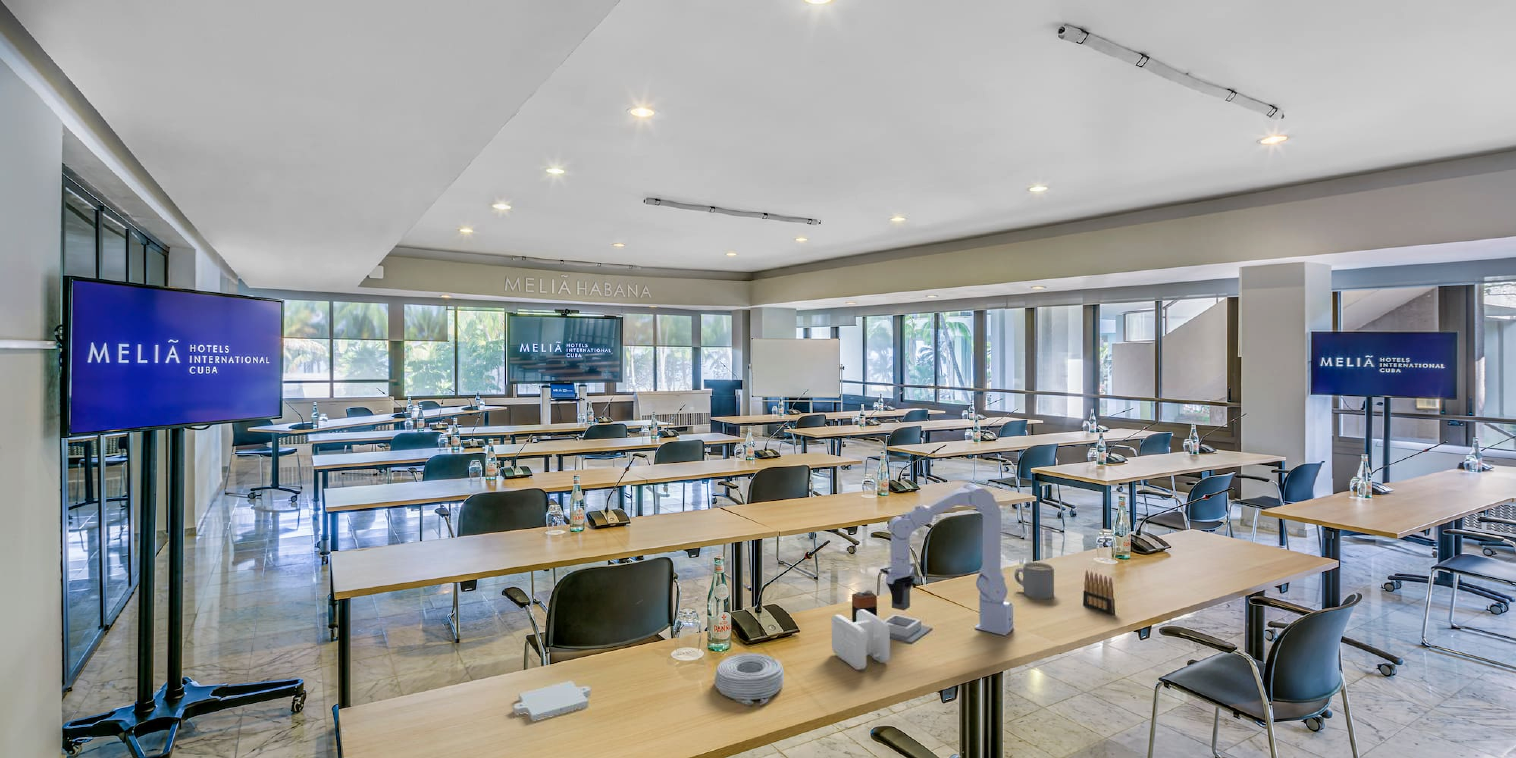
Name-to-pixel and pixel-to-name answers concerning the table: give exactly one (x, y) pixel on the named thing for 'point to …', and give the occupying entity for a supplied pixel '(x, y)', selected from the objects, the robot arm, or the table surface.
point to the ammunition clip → (1098, 594)
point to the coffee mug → (1037, 580)
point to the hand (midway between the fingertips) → (900, 601)
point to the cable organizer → (861, 639)
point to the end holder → (906, 628)
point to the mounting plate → (552, 700)
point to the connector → (903, 600)
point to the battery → (864, 603)
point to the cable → (749, 677)
